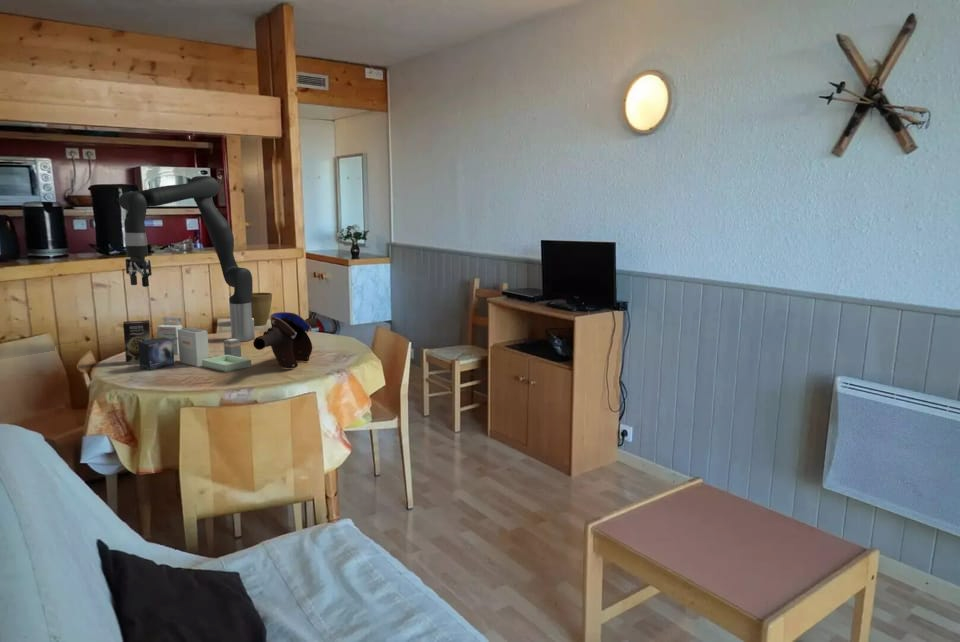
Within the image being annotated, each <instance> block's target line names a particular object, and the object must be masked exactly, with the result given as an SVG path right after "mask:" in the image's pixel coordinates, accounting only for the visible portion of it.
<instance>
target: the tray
mask: <svg viewBox="0 0 960 642" xmlns="http://www.w3.org/2000/svg"><path fill="white" fill-rule="evenodd" d="M201 367H204V368H207V369H211V370H216V371H220V372H224V373H229V372H233V371H237V370H241V369H246V368H250V367H252V359H249V358H245V357H242V356H241V357H236V356H232V355H225V354H224V355H219V356H214V357H209V358H208V359H203V360H202V365H201Z"/></svg>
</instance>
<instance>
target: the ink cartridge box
mask: <svg viewBox="0 0 960 642" xmlns="http://www.w3.org/2000/svg"><path fill="white" fill-rule="evenodd" d="M172 320H173V321H172ZM162 321H163V324H161V325H157V326H156V327H157V328H156V329H157V331H156V332H157V333H156V334H157V338H163V337H165V338H168V339H173V349H174V356H175V355H176V356H177V355H179V343H178V330H177V329H181V328H183V324H182V318H181V317H164V316H163V318H162Z"/></svg>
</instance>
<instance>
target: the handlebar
mask: <svg viewBox="0 0 960 642" xmlns="http://www.w3.org/2000/svg"><path fill="white" fill-rule="evenodd" d="M270 324H271V327H269V328H267V330H266V331H264V332H263V333H262V334H263V335H260V336H257V337H255V339H253V341H252V343H253V347H254V349H256V350H258V351H259V350H260V351H261V350H264V348H268V347H271V350H272V351H271V352H272V353H273V355H274V357H275V359H276V361H277V364H278V365H279V367H281V368H283V369H295V368H296V369H297V368H298V362H309V360H310V356H311V355H312V351H313V344H312V340H311V339H310V337H309V334H308V333H309V332H310V330H311V329H314V328H316V327H317V325H318V324H317V319H316V318H314V317H312V316H310V317H308V318H306V319H304V318H303V317H302V316H300V315H299V314H297V313H294V312H287V311H286V312H282V311H281V312H275V313H272V314H271V315H270Z"/></svg>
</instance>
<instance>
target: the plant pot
mask: <svg viewBox="0 0 960 642" xmlns="http://www.w3.org/2000/svg"><path fill="white" fill-rule="evenodd" d="M272 299H273V293H271V292H253V293H252V298H251V311H252V318H253V319H254V327H255V326H266V325H267V324H268V321H269V317H270V313H271V308H272V301H273V300H272Z"/></svg>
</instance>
